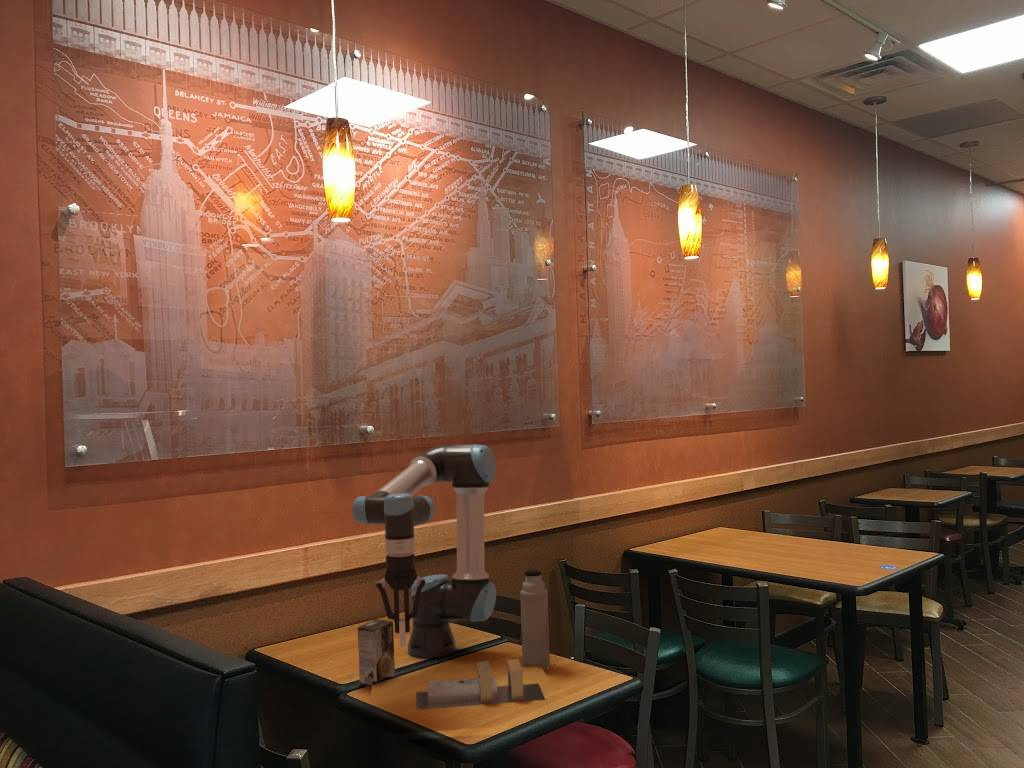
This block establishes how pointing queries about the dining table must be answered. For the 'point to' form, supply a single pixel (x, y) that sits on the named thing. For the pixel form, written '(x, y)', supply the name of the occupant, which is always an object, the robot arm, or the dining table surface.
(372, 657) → the coffee box
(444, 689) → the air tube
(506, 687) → the collar stand
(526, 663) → the thermos bottle
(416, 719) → the dining table surface
